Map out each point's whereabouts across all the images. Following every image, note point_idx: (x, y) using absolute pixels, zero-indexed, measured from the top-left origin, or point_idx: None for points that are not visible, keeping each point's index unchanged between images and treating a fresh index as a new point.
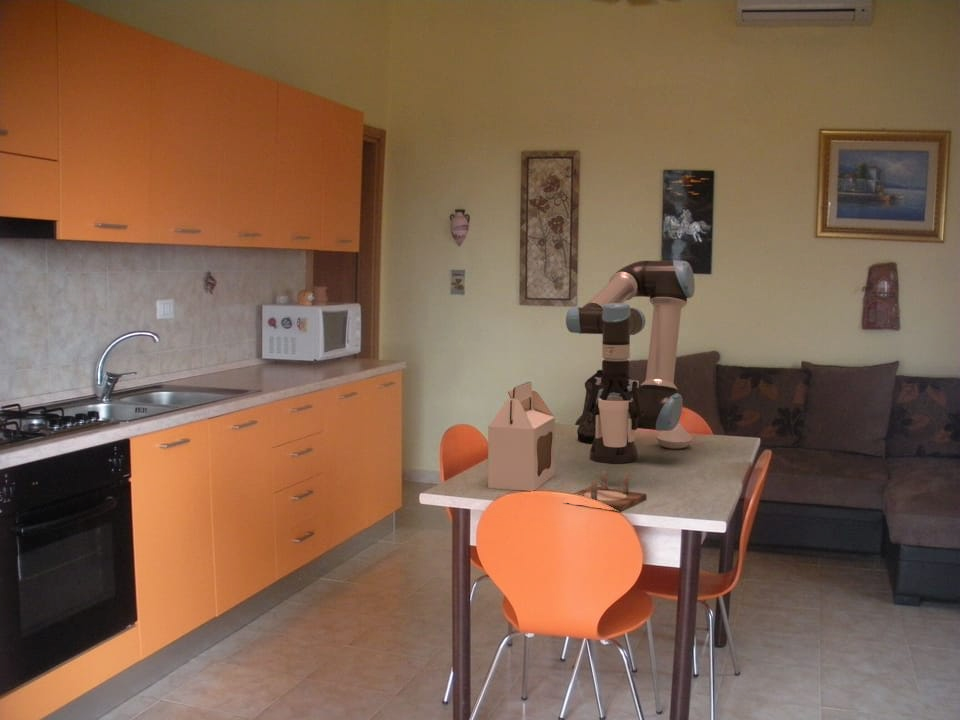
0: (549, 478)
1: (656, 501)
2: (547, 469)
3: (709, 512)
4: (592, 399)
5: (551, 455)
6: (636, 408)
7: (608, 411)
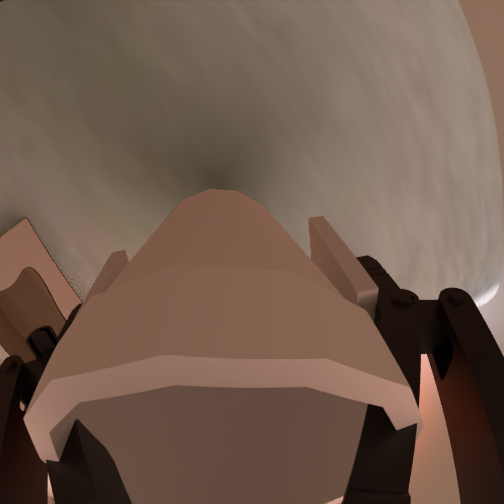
0: (51, 260)
1: (394, 254)
2: (51, 292)
3: (487, 253)
4: (43, 472)
5: (11, 274)
6: (444, 389)
7: (249, 459)
